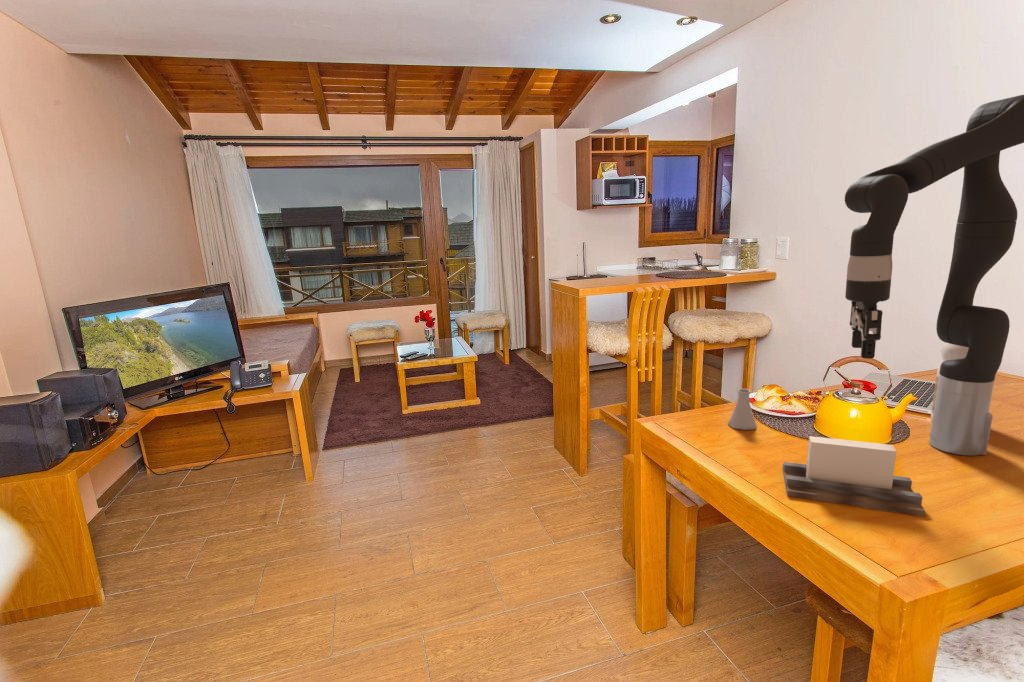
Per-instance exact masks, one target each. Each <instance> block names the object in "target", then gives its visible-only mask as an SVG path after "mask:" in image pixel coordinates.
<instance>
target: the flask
mask: <svg viewBox="0 0 1024 682" xmlns="http://www.w3.org/2000/svg"><path fill="white" fill-rule="evenodd" d="M737 393H738V396H737V400H736V403H735V407H734V410H733V411H732V413H731V415H730V418H729V420H728V422H727V424H728V425H729V426H730V427H731V428H733V429H735V430H744V431H748V430H755V429H756V428H757V421H756V419H755V416H754V414H753V409H752V407H751V404H750V402H751V401H750V394H751V390H750V389H748V388H738V389H737Z"/></svg>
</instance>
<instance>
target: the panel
mask: <svg viewBox="0 0 1024 682" xmlns="http://www.w3.org/2000/svg"><path fill="white" fill-rule="evenodd" d="M807 447H808V448H807V460H806V465H807V468H806V478H812V479H819V480H826V481H834V482H841V483H848V484H856V485H863V486H870V487H878V488H885V489H892V483H893V476H895V469H896V460H897V453H898V452H897V450H896V448H895V447H894V445H893V444H886V443H879V442H868V441H860V440H850V439H849V440H848V439H839V438H832V437H823V436H822V437H821V436H820V437H819V436H810V435H809V437H808V446H807Z"/></svg>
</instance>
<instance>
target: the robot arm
mask: <svg viewBox="0 0 1024 682" xmlns="http://www.w3.org/2000/svg"><path fill="white" fill-rule="evenodd" d="M1021 144H1024V94H1020V95H1016V96H1012V97H1011V96H1010V97H1007V98H1002V99H998V100H993V101H990V102H987V103H984V104H981V105H979V106H978V107H976V108H975V109H974V111H973V112H972V113H971V115H970V117H969V118H968V122H967V125H966V129H965V132H963V133H960V134H956V135H954V136H952V137H949V138H945V139H944V140H941V141H937V142H935V143H933V144H930V145H929V146H926V147H924V148H922V149H920V150H918V151H916V152H914V153H912V154H911V155H908V156H907V157H905V158H903V159H902V160H900V161H898V162H897V163H894V164H891V165H889V166H885V167H883V168H880V169H878V170H875V171H873V172H870V173H867V174H866V175H864V176H863V175H862V176H861V177H859V178H858V179H856V180H855V181H853V182H852V183H851V184H850V186H848V188H847V190H846V192H845V194H844V203H845V206H846V207H847V209H849V210H850V211H852V212H854V213H859V214H869V213H870V215H869V218H868V220H867V222H866V224H863V225H859V226H857V227H855V228H854V229H853V230H852V232H851V236H850V246H849V247H850V249H849V258H848V263H847V266H846V267H847V270H846V282H845V283H846V284H845V296H844V297H845V299H846V300H847V301H851V302H850V303H851V305H850V306H851V308H850V317H849V318H850V319H849V326H850V329H851V332H852V335H851V336H852V337H851V347H852V348H853V349H860V357H861V358H862V359H874V358H875V354H876V344H877V341H880V340H881V339H882V334H881V333H882V322H883V321H882V319H883V311H882V309H878V305H877V304H878V303H879V302H885V301H888V300H890V298H891V297H890V296H891V286H892V276H893V246H894V237H895V232H896V230H897V227H898V225H899V223H900V220H901V218H902V215H903V213H904V211H905V208H906V206H907V202H908V198H909V194H913V193H916V192H919V191H921V190H923V189H925V188H927V187H929V186H931V185H932V184H934V183H937V182H938V181H940V180H941V179H944V178H945V177H947V176H949V175H951V174H953V173H955V172H958V171H959V170H961V169H963V181H962V189H961V197H960V205H959V211H958V216H957V220H956V227H955V234H954V240H953V249H952V257H951V262H950V267H949V273H948V276H947V281H946V285H945V290H944V293H943V295H942V296H943V297H942V300H941V304H940V307H939V310H938V315H937V320H936V327H935V328H936V334H937V337H938V338H939V340H940V341H942V342H944V343H945V342H946V343H949V344H954V345H959V346H964V347H969V349H968V352H967V355H966V357H965V358H963V359H953V360H947V361H944V362H942V361H941V362H942V364H941V366H940V372H939V378H938V386H937V392H936V399H935V406H934V412H933V419H931V420H932V421H931V427H930V432H929V440H928V441H929V444H930V445H931V446H932V447H933V448H935V449H937V450H939V451H943V452H944V453H945V452H946V453H949V454H954V455H958V456H959V455H960V456H970V457H971V456H979V455H982V456H983V455H984V456H987V450H988V447H989V446H988V445H989V441H990V439H989V438H990V434H991V428H992V423H993V418H994V417H993V414H992V413H991V412H990V407H991V402H992V398H993V397H992V396H993V391H994V385H995V379H996V375H997V373H998V371H999V369H1000V368H1001V367H1000V366H1001V364H1002V361H1003V357H1004V351H1005V348H1006V344H1007V342H1008V338H1009V333H1010V327H1011V326H1010V318H1009V316H1008V313H1007V312H1005V311H1004V310H1002V309H999V308H995V307H994V308H993V307H988V306H980V305H979V306H978V305H974V299H975V294H976V291H977V290H978V289H977V288H978V286H979V284H980V283H981V281H982V279H984V277H985V275H987V273H988V272H989V271H991V269H992V268H993V267H994V266H995V265H996V264H997V263H998V262H999V261H1000V260H1001V259H1002V258H1003V257H1004V256H1005V255H1006V254H1007V252H1008V251H1009V250H1010V249H1011V246H1012V245H1013V243H1014V237H1015V232H1016V231H1015V230H1016V227H1017V220H1018V209H1017V205H1016V203H1015V201H1014V199H1013V197H1012V195H1011V193H1010V192H1009V190H1008V189H1007V187H1006V184H1005V183H1004V181H1003V180H1002V177H1001V173H1000V158H1001V157H1000V156H1001V152H1002V151H1004V150H1007V149H1010V148H1013V147H1016V146H1019V145H1021ZM870 332H872V333H870Z"/></svg>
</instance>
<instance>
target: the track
mask: <svg viewBox="0 0 1024 682" xmlns="http://www.w3.org/2000/svg"><path fill="white" fill-rule="evenodd" d="M806 468H807V463H806V464H805V463H796V462H790V461H789V462H788V461H784V462H783V463H782V475H783V478H784V479H783V481H784V487H785V492H786V496H787V497H791V498H792V497H793V498H797V499H798V498H800V499H803V500H805V499H806V500H812V501H818V502H819V501H820V502H826V503H830V504H831V503H832V504H839V505H844V504H845V505H846V506H850V505H851V506H850V507H857V506H859V508H864V509H871V510H879V511H885V512H892V513H897V512H899V513H898V514H903V513H904V515H910V516H918V517H923V518H924V517H925V514H926V509H925V508H924V506H923V505H922V503H923V496H922V495H921V493H920V492H914V491H913V489H912V485H913V484H912V483H913V481H912V480H911V478H910V477H908V476H907V477H906V476H898V475H894V476H893V483H892V489H885V488H878V487H870V486H863V485H856V484H848V483H841V482H834V481H826V480H819V479H812V478H806Z"/></svg>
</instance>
